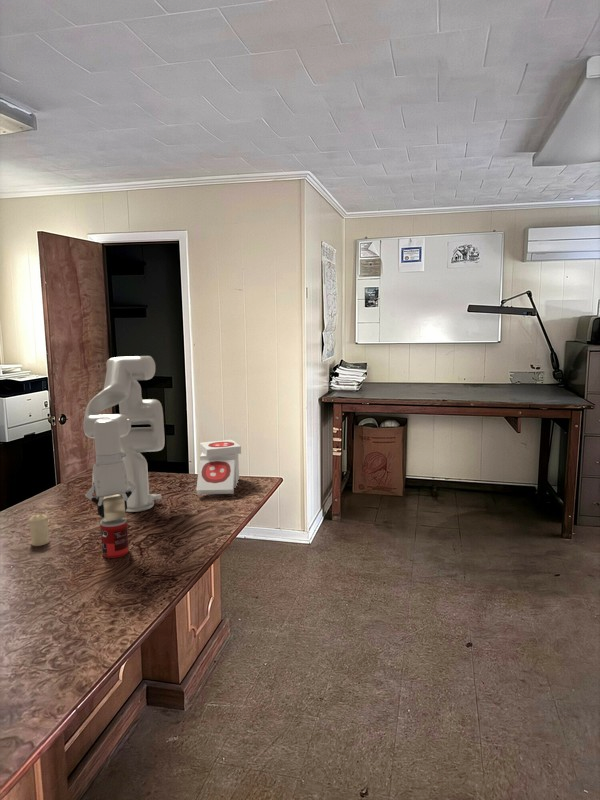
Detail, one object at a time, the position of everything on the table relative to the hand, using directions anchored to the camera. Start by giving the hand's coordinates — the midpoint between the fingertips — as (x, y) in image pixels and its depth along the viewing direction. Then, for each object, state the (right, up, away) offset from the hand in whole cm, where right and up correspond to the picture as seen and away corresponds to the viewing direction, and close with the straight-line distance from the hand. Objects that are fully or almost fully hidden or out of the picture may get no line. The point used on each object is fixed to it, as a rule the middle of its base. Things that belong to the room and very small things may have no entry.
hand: (112, 514), depth 180 cm
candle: (-28, -12, +12) cm, 33 cm away
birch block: (0, -1, 0) cm, 1 cm away
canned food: (0, -13, +2) cm, 13 cm away
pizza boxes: (+24, -3, +69) cm, 73 cm away
